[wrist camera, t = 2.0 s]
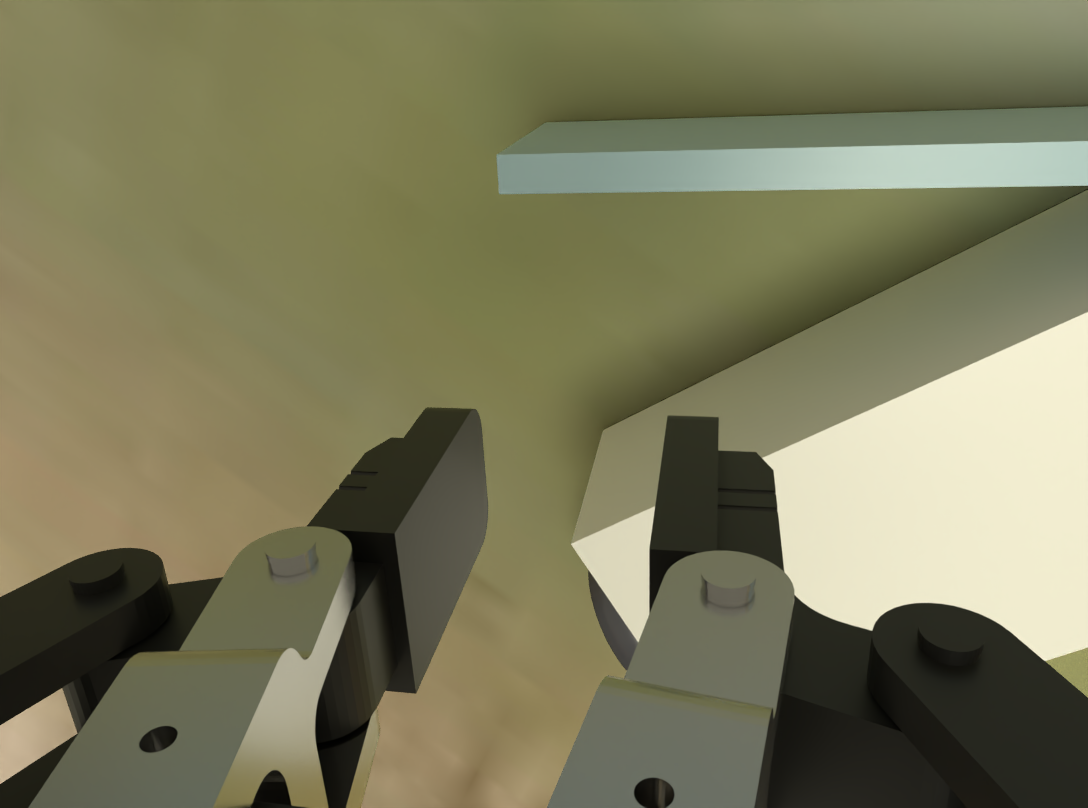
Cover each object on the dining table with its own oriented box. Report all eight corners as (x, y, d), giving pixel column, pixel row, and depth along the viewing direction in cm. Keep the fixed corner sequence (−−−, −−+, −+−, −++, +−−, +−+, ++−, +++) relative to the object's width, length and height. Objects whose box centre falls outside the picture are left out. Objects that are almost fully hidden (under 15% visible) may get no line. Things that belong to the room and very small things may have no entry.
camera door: (547, 156, 30) (498, 198, 23) (545, 118, 29) (495, 151, 23) (1193, 142, 26) (1347, 187, 20) (1202, 98, 26) (1366, 130, 19)
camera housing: (687, 627, 37) (677, 797, 29) (567, 447, 35) (521, 578, 27) (1271, 401, 29) (1474, 549, 21) (1169, 149, 27) (1356, 209, 19)
